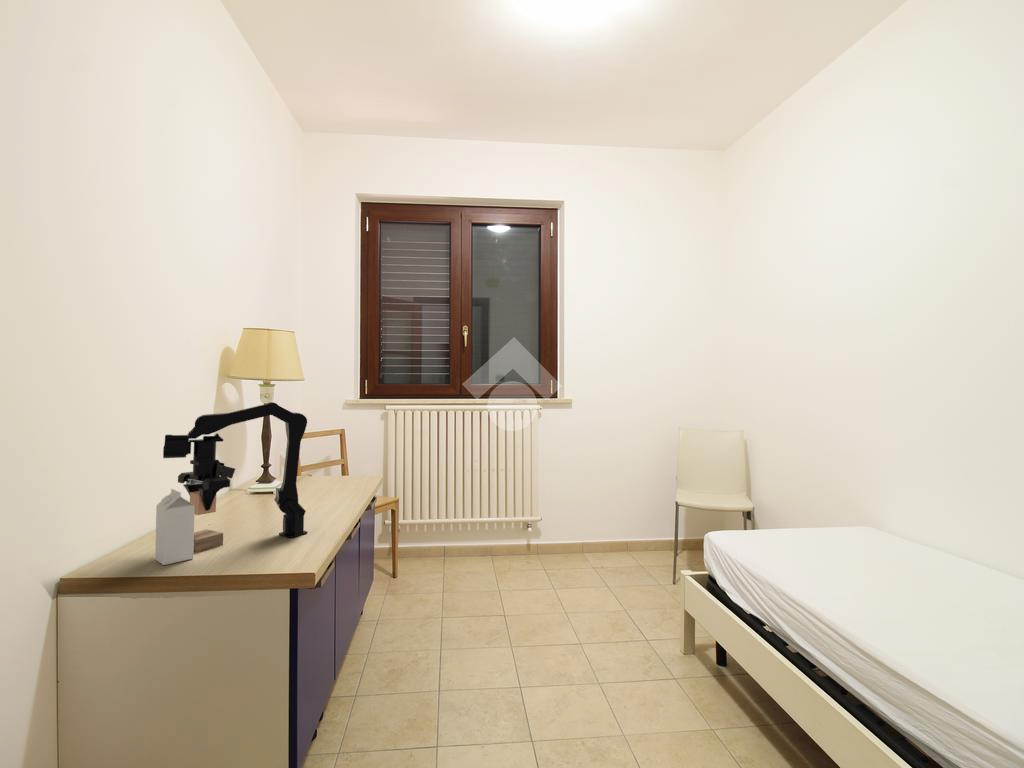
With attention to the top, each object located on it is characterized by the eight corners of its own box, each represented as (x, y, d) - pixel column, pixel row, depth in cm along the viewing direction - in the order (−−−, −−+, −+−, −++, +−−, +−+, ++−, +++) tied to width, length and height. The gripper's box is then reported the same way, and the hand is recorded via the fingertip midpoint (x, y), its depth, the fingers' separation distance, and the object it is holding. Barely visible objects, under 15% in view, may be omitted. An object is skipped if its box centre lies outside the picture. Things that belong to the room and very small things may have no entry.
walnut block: (222, 546, 151) (223, 532, 151) (196, 553, 144) (196, 539, 144) (206, 542, 155) (206, 529, 155) (179, 549, 147) (179, 535, 147)
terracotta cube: (215, 511, 150) (216, 491, 150) (198, 515, 146) (198, 494, 146) (206, 509, 153) (207, 489, 153) (189, 512, 149) (190, 492, 149)
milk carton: (184, 553, 143) (185, 487, 143) (193, 559, 139) (195, 490, 139) (154, 559, 138) (156, 490, 138) (163, 566, 133) (165, 494, 133)
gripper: (248, 457, 152) (246, 508, 152) (215, 451, 162) (213, 500, 161) (210, 460, 142) (208, 515, 142) (177, 454, 152) (175, 506, 152)
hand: (202, 508), depth 150 cm, fingers closed on terracotta cube, 5 cm apart
